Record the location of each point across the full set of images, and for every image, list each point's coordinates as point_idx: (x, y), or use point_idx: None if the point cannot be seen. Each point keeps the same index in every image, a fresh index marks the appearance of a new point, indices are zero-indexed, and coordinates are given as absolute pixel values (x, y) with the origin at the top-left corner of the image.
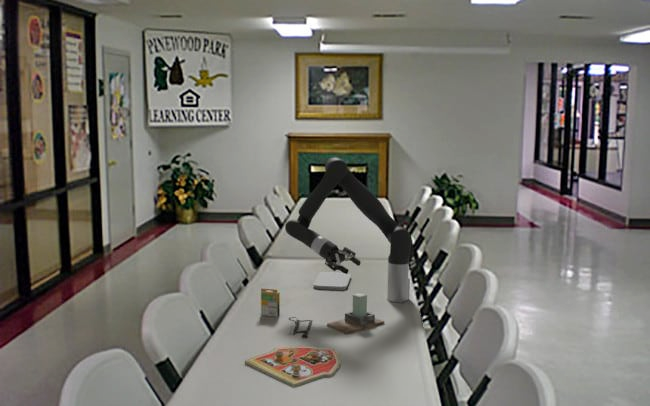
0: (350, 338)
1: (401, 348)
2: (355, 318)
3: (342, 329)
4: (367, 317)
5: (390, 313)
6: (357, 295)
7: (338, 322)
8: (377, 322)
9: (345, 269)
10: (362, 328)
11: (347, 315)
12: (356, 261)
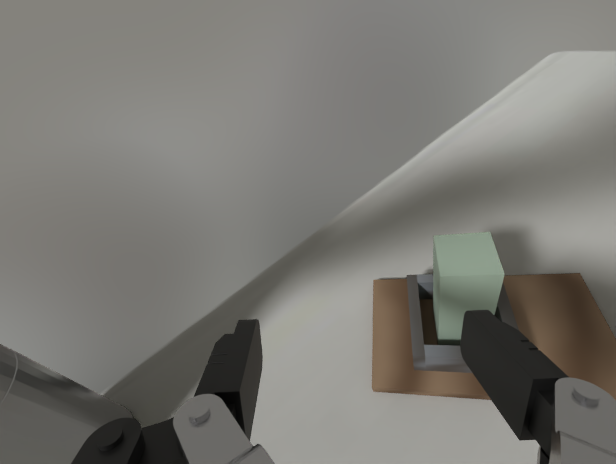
0: (582, 246)
1: (468, 159)
2: (504, 292)
3: (591, 298)
4: None
5: (272, 344)
6: (486, 251)
7: (569, 376)
8: (403, 282)
9: (501, 326)
10: None
11: None
12: (252, 360)
